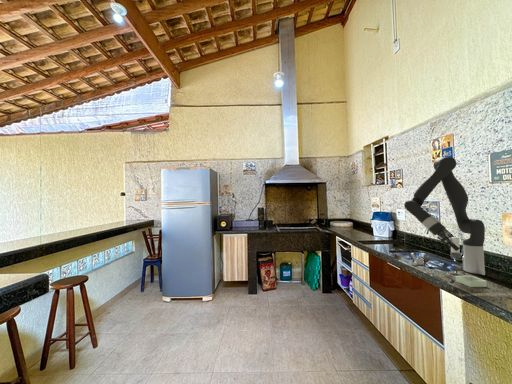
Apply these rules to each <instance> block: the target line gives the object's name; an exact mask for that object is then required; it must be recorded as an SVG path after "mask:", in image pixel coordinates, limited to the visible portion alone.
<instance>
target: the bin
mask: <svg viewBox="0 0 512 384" xmlns="http://www.w3.org/2000/svg"><path fill="white" fill-rule="evenodd" d="M455 279H456V281H455V282H457V283H459V284H461V285H464V286H465V287H468V288H482V287H483V288H486V287H488V281H487V280H484V279H482V278H479V277H476V276H473V275H465V276H455Z"/></svg>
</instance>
